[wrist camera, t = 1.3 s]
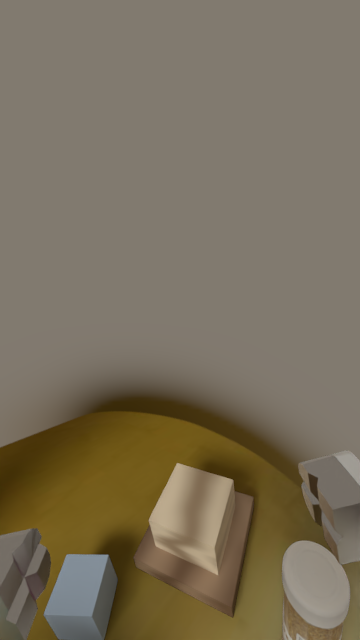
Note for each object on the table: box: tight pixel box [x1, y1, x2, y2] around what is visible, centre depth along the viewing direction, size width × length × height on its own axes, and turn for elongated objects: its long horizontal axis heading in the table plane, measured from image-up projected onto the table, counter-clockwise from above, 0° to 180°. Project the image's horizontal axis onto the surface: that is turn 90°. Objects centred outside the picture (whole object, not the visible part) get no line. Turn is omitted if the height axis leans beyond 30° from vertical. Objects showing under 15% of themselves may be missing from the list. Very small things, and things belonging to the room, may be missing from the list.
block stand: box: [133, 463, 254, 618], centre depth 34 cm, size 12×12×7 cm
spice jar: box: [282, 541, 350, 640], centre depth 22 cm, size 5×5×13 cm
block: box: [43, 554, 118, 640], centre depth 29 cm, size 5×5×5 cm
